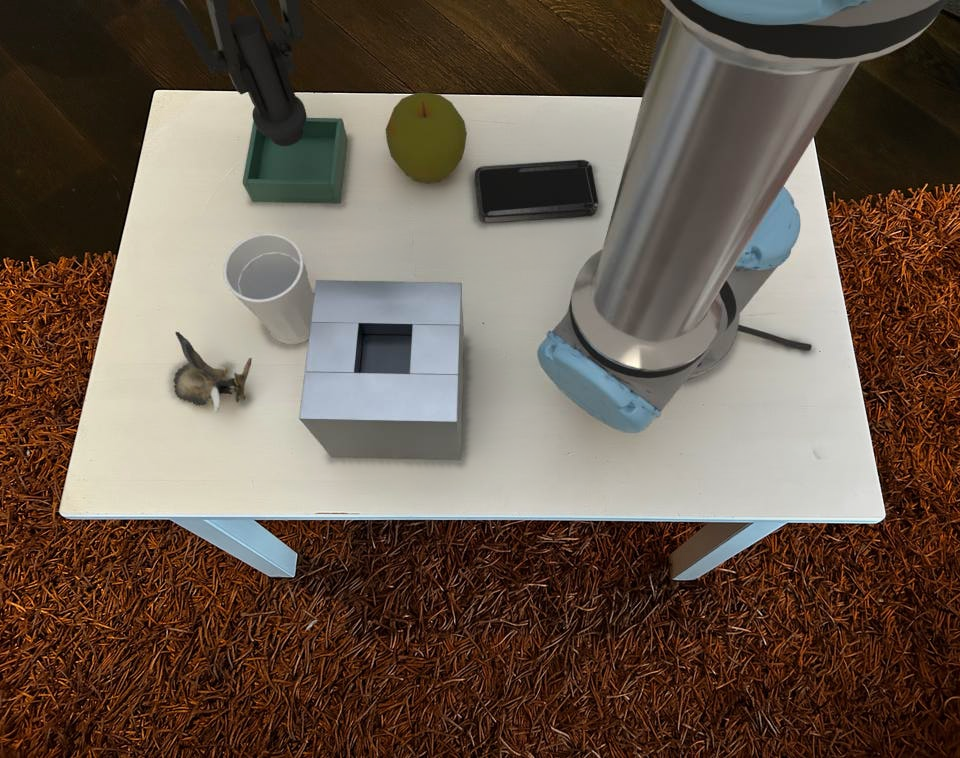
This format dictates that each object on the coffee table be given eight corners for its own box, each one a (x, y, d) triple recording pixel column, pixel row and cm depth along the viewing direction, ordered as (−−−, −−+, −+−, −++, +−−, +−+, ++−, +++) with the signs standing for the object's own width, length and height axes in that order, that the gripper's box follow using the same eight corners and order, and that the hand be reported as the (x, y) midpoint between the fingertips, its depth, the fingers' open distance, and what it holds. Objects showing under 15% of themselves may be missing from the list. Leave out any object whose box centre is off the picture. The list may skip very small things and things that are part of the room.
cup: (317, 356, 75) (289, 308, 64) (251, 343, 75) (211, 293, 64) (336, 296, 78) (312, 240, 66) (272, 284, 78) (238, 226, 67)
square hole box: (464, 342, 76) (461, 282, 62) (460, 460, 70) (457, 421, 57) (343, 340, 76) (316, 279, 62) (331, 457, 70) (298, 418, 57)
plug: (321, 126, 78) (288, 18, 65) (292, 160, 77) (251, 57, 63) (281, 106, 80) (240, -5, 66) (251, 140, 78) (202, 33, 64)
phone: (599, 209, 81) (479, 217, 80) (597, 215, 82) (479, 223, 81) (590, 158, 84) (474, 165, 83) (588, 164, 85) (474, 171, 84)
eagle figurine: (265, 351, 74) (188, 323, 73) (242, 364, 67) (156, 334, 66) (247, 411, 75) (171, 385, 75) (222, 430, 68) (139, 401, 68)
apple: (471, 192, 83) (471, 131, 73) (395, 201, 82) (384, 140, 72) (461, 131, 87) (459, 64, 76) (388, 138, 86) (377, 72, 76)
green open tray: (347, 139, 86) (342, 117, 82) (340, 203, 82) (334, 184, 79) (263, 137, 86) (254, 116, 82) (252, 201, 82) (242, 182, 79)
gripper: (265, -178, 54) (325, 54, 76) (76, -116, 51) (195, 107, 73) (302, -126, 52) (353, 97, 74) (107, -58, 49) (220, 154, 71)
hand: (274, 102), depth 73 cm, fingers closed on plug, 3 cm apart
